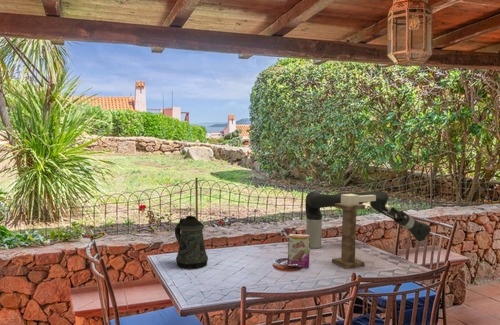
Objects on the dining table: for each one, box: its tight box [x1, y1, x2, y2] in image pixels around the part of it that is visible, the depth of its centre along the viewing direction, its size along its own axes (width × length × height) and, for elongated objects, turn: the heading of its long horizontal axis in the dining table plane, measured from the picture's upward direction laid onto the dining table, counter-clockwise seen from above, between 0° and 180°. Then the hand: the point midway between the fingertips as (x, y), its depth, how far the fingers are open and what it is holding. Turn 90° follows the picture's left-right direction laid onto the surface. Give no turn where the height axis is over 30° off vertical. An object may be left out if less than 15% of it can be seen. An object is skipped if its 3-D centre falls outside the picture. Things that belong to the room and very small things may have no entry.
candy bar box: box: [287, 233, 311, 269], centre depth 230 cm, size 11×5×16 cm, turn 84°
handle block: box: [341, 194, 376, 206], centre depth 236 cm, size 20×6×5 cm, turn 116°
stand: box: [331, 203, 366, 270], centre depth 234 cm, size 12×12×32 cm
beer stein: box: [174, 215, 209, 270], centre depth 231 cm, size 16×19×25 cm
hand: (385, 207), depth 244 cm, fingers open, 8 cm apart
